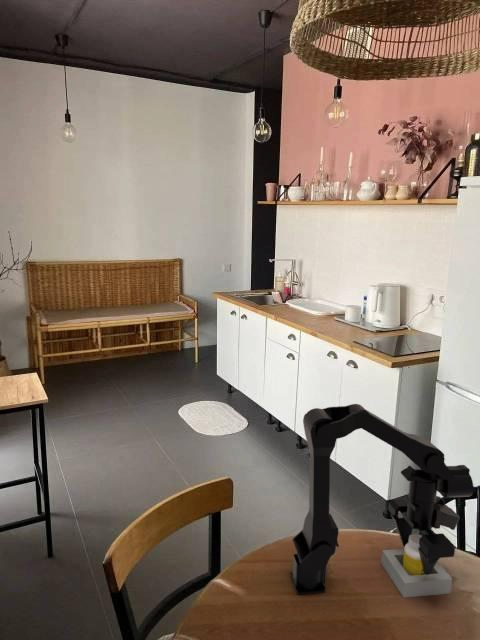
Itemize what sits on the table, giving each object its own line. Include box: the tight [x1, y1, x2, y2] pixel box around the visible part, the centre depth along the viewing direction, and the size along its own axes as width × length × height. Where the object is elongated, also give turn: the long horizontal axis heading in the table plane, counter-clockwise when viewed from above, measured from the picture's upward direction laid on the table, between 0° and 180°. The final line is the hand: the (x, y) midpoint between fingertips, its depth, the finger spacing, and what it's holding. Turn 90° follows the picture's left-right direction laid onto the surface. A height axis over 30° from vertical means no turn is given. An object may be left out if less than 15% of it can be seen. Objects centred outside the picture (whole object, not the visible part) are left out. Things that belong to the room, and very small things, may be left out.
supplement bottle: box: [403, 533, 425, 576], centre depth 106 cm, size 5×5×10 cm
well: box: [380, 548, 453, 599], centre depth 107 cm, size 11×11×4 cm
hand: (416, 560), depth 106 cm, fingers open, 9 cm apart
